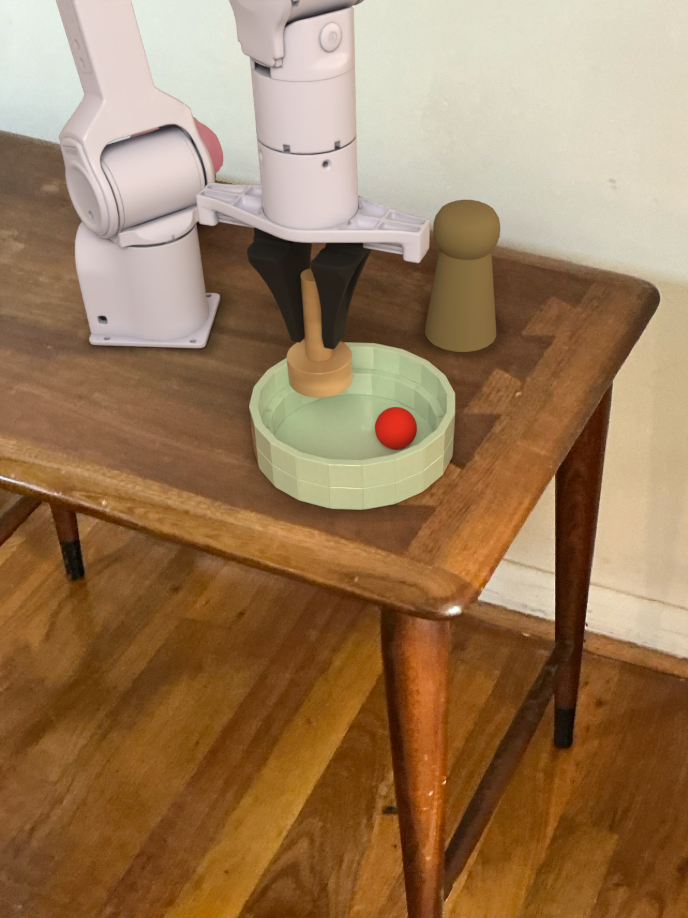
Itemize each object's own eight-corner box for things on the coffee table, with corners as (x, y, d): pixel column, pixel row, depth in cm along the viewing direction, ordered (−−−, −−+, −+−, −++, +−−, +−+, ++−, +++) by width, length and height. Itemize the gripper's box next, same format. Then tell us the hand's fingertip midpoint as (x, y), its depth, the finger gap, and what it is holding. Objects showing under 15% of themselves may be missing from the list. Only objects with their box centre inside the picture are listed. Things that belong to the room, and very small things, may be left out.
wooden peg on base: (278, 390, 70) (268, 285, 64) (303, 356, 73) (296, 252, 67) (338, 403, 69) (334, 297, 63) (361, 368, 72) (359, 264, 66)
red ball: (373, 457, 73) (373, 423, 71) (376, 431, 75) (375, 397, 73) (415, 458, 73) (416, 425, 71) (417, 432, 75) (418, 399, 73)
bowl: (242, 512, 69) (235, 461, 66) (269, 389, 80) (264, 339, 77) (451, 519, 69) (455, 468, 66) (452, 394, 79) (455, 345, 76)
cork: (491, 356, 83) (502, 230, 76) (418, 347, 84) (421, 221, 76) (501, 317, 88) (512, 194, 80) (431, 308, 88) (435, 186, 81)
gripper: (448, 125, 60) (440, 326, 69) (223, 92, 63) (244, 288, 73) (409, 175, 55) (406, 384, 65) (167, 136, 58) (198, 340, 68)
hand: (318, 337), depth 68 cm, fingers closed on wooden peg on base, 2 cm apart
